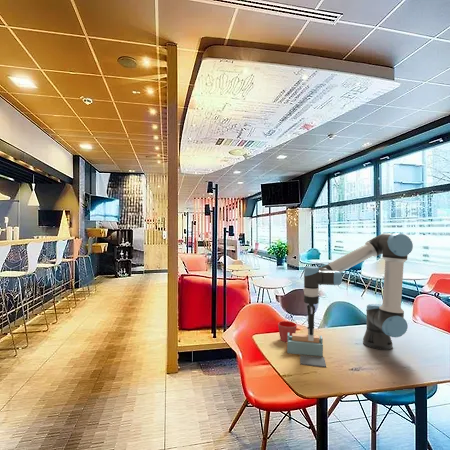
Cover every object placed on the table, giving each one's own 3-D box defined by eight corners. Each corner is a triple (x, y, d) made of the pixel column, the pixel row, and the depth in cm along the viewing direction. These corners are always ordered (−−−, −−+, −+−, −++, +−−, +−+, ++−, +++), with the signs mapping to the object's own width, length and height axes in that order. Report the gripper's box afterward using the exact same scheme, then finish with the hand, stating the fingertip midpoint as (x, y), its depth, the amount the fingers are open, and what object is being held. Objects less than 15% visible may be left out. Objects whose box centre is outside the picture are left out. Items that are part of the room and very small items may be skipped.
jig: (321, 350, 162) (321, 334, 162) (322, 356, 153) (322, 340, 153) (287, 346, 166) (287, 331, 166) (287, 353, 157) (287, 336, 157)
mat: (324, 358, 151) (324, 357, 151) (326, 367, 141) (326, 366, 141) (299, 356, 153) (300, 354, 153) (300, 364, 144) (300, 363, 144)
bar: (318, 343, 160) (318, 335, 160) (319, 345, 156) (319, 338, 156) (292, 340, 163) (292, 333, 163) (292, 343, 159) (292, 335, 159)
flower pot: (291, 345, 168) (292, 328, 168) (274, 340, 175) (274, 324, 175) (299, 339, 176) (299, 323, 177) (282, 335, 183) (282, 319, 183)
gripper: (303, 291, 168) (302, 333, 168) (304, 298, 152) (303, 344, 151) (317, 292, 166) (316, 334, 166) (319, 299, 150) (319, 345, 149)
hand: (310, 339), depth 159 cm, fingers closed on bar, 4 cm apart
